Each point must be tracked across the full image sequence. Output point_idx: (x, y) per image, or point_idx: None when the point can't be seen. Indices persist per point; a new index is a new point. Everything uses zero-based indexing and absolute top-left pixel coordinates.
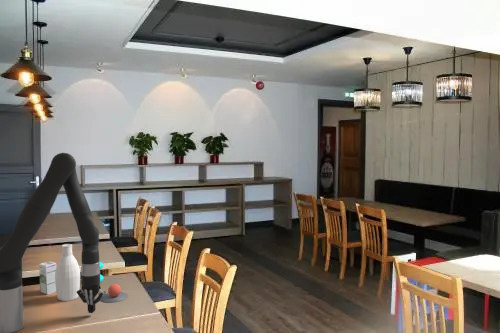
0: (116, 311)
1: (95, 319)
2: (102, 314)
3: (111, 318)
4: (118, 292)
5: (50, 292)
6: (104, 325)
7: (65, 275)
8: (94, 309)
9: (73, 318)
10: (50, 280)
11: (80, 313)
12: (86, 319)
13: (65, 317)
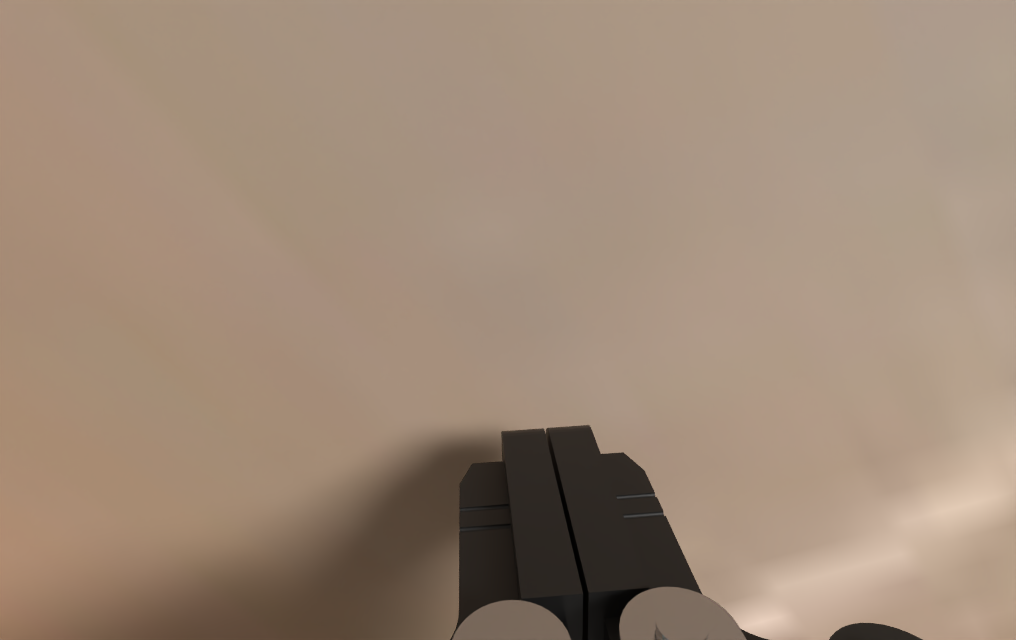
0: (1008, 34)
1: (704, 523)
2: (729, 298)
3: (996, 404)
4: None
5: None
6: (957, 636)
7: None
8: (635, 502)
9: (268, 607)
10: None
11: (202, 399)
12: None
13: (82, 621)
